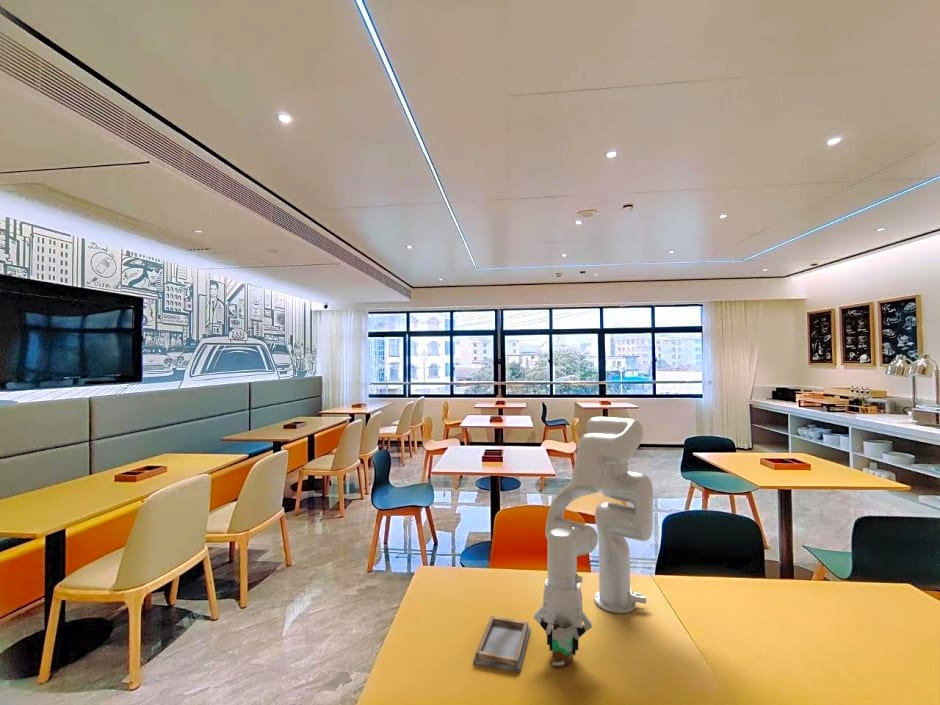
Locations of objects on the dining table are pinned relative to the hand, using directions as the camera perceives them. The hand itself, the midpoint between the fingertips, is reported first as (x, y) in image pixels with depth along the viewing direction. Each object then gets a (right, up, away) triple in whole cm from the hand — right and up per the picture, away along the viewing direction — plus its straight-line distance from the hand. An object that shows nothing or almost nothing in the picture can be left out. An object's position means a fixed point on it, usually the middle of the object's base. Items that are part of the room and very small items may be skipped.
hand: (562, 649), depth 112 cm
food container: (+1, -2, 0) cm, 2 cm away
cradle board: (-15, -2, +5) cm, 16 cm away
